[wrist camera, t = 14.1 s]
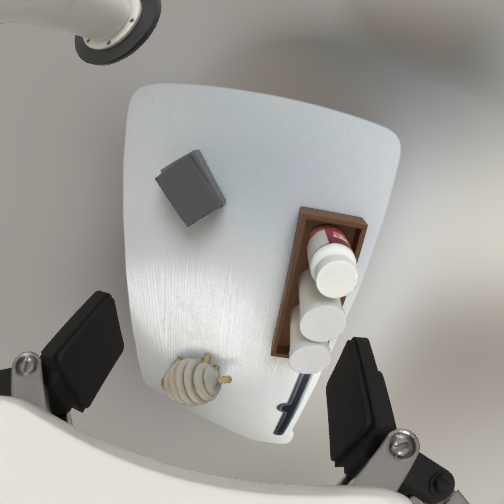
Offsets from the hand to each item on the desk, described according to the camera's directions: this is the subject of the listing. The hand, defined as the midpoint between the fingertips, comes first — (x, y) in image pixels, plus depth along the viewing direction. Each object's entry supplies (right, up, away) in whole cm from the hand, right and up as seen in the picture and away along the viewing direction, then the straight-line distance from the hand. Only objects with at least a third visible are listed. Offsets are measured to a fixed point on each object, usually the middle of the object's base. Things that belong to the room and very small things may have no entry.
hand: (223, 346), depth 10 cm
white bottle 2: (+11, -8, +37) cm, 39 cm away
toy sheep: (-10, -21, +47) cm, 52 cm away
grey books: (-7, +14, +30) cm, 34 cm away
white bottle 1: (+12, -1, +34) cm, 36 cm away
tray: (+11, -3, +36) cm, 38 cm away
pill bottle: (+12, +5, +31) cm, 34 cm away
